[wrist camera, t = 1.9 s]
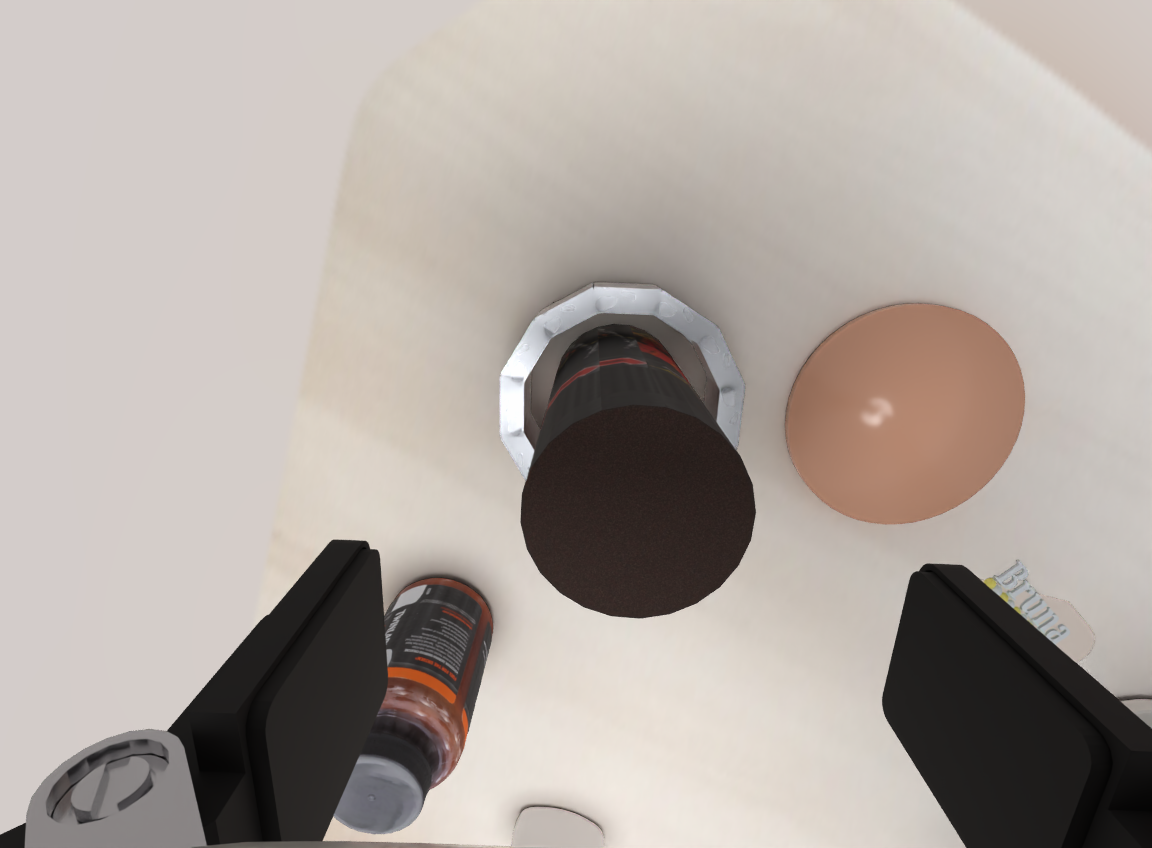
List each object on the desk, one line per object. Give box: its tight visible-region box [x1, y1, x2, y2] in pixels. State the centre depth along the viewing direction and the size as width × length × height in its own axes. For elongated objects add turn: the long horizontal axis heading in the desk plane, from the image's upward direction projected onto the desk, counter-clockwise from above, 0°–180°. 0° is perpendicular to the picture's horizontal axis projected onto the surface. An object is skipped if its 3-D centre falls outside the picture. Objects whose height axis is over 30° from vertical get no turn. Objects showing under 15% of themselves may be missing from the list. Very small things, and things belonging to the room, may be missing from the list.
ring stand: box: [500, 282, 745, 481], centre depth 27 cm, size 10×10×5 cm
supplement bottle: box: [333, 578, 493, 834], centre depth 28 cm, size 6×6×11 cm
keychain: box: [980, 560, 1095, 663], centre depth 32 cm, size 10×1×3 cm
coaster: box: [785, 303, 1025, 524], centre depth 29 cm, size 11×11×1 cm
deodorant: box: [521, 324, 756, 618], centre depth 22 cm, size 6×6×15 cm
